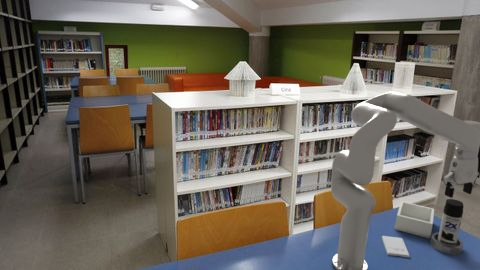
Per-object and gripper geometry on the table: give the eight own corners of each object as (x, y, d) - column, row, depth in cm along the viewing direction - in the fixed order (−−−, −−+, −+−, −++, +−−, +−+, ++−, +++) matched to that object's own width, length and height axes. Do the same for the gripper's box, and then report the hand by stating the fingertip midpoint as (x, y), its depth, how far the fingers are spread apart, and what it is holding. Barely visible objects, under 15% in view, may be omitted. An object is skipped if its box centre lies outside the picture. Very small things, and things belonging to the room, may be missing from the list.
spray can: (436, 248, 144) (445, 203, 139) (436, 240, 150) (445, 197, 144) (455, 253, 141) (465, 207, 136) (454, 244, 147) (464, 200, 141)
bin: (429, 238, 151) (432, 224, 149) (394, 229, 157) (396, 215, 156) (431, 222, 164) (434, 208, 162) (399, 214, 171) (401, 201, 169)
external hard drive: (401, 241, 149) (409, 258, 138) (381, 238, 151) (387, 255, 139) (402, 238, 149) (410, 255, 137) (381, 235, 150) (387, 252, 139)
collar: (461, 257, 138) (463, 251, 137) (429, 248, 143) (431, 242, 143) (461, 244, 147) (462, 237, 147) (431, 236, 153) (432, 229, 152)
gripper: (458, 159, 128) (449, 201, 133) (491, 154, 134) (482, 195, 139) (440, 152, 135) (433, 193, 140) (473, 148, 141) (465, 187, 145)
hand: (457, 194), depth 139 cm, fingers open, 9 cm apart
